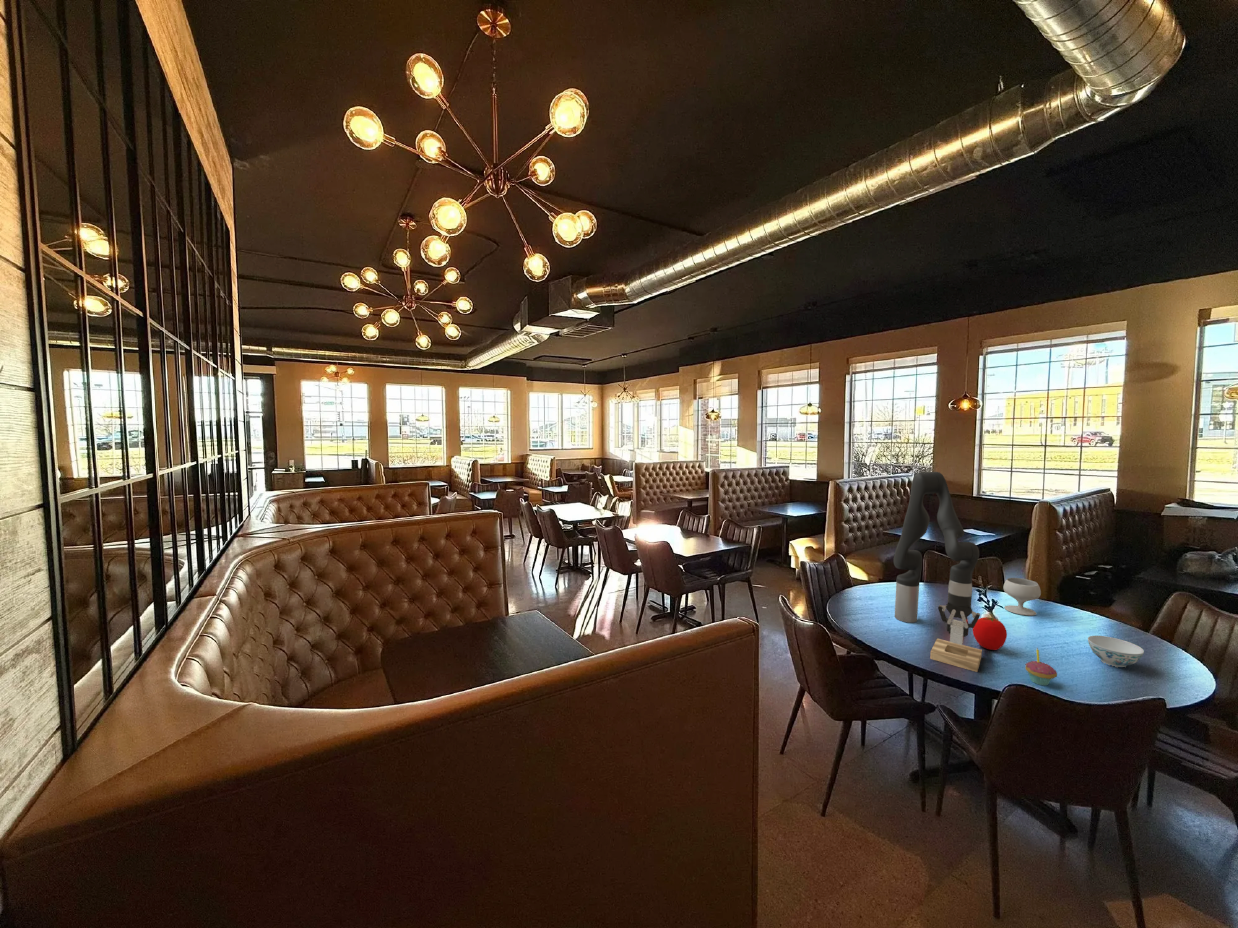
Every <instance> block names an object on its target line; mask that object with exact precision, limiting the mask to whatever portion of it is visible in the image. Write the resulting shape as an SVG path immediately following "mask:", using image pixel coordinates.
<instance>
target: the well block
mask: <svg viewBox="0 0 1238 928" xmlns="http://www.w3.org/2000/svg"><path fill="white" fill-rule="evenodd" d="M982 652H983V649H979V648H976V647H972V646H969V645H964V644H962V645H960V644H956V643H952V642H950V640H944V639H941V638H937V639H936V640H935V642H934V644H933V646H932V648H931V649H930V656H929V657H930V660H933V661H938V662H939V663H942V664H943V663H944V664H948V665H951V666H954V667H958V668H962V669H965V670H968V671H972V672H975V673H978V671H979V667H980V664H981V661H982V656H983V654H982Z"/></svg>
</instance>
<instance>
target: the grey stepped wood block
mask: <svg viewBox="0 0 1238 928" xmlns="http://www.w3.org/2000/svg"><path fill="white" fill-rule="evenodd" d="M950 627H951V633H949V637H950V638H949V642H952V643H956V644H960V645H964V643H965V642H964V641H965V637H963V632H964V623H963V621H962V620H957V619H955V618H953V620H952V623H951V626H950Z"/></svg>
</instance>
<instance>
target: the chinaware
mask: <svg viewBox="0 0 1238 928" xmlns="http://www.w3.org/2000/svg"><path fill="white" fill-rule="evenodd" d="M1087 642H1088V645H1089V649H1090V650H1091V651H1092V652H1093V654H1094V655H1095V656H1097V657H1098V658H1099V659H1100V661H1101V662H1102V663H1103V664H1105V663H1106V664H1105V665H1107V664H1108V666H1110V665H1112V666H1111V667H1113V666H1115V667H1114V668H1118V667H1125V668H1126V667H1127V666H1131V665H1133V664H1135V663H1137V662H1139V661H1140V660H1141V659H1142V657H1143V655H1144V653H1145V652H1144V649H1143V648H1142V647H1140V646H1139V645H1137V644H1134V643H1133V642H1130V641H1126V640H1124V639H1123V640H1122V639H1120V638H1117V637H1116V638H1115V637H1112V636H1111V637H1110V636H1106V635H1105V636H1104V635H1090V636H1088V637H1087Z"/></svg>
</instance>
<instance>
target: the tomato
mask: <svg viewBox="0 0 1238 928" xmlns="http://www.w3.org/2000/svg"><path fill="white" fill-rule="evenodd" d="M972 633H973V638H974V639H975V641H976V642H977V644H979V646H981V647H982V648H984V649H987V650H989V651H991V650H992V651H996V650H999V649H1001V648H1002V647H1003V646H1004V645H1005V643H1006V640H1007V637H1008V632H1007V628H1006V626H1005V625H1004V623H1002V621H1001V620H998V619H997V618H995V617H986V616H984V617H979V619H978V621H977V623H976V624H975V626H974V628H972Z"/></svg>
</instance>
